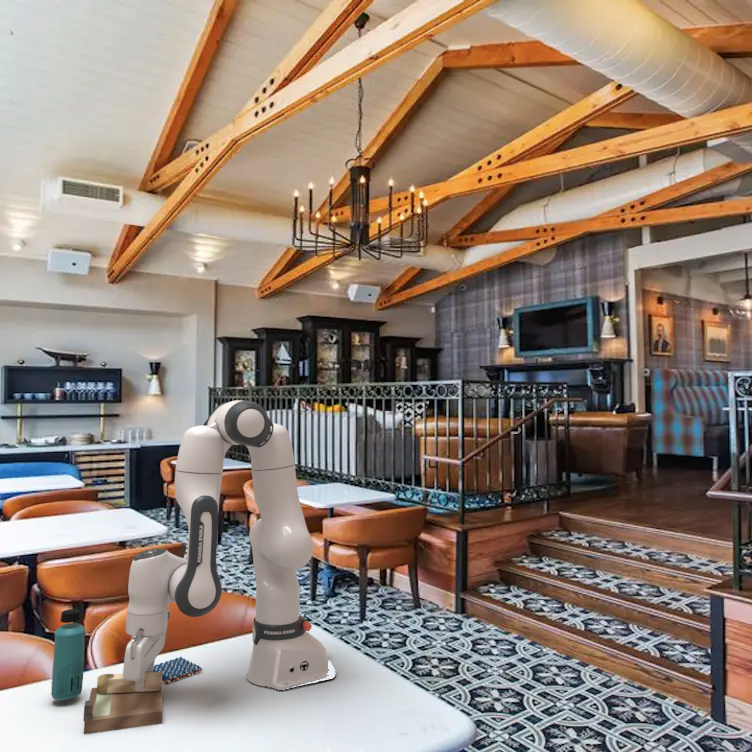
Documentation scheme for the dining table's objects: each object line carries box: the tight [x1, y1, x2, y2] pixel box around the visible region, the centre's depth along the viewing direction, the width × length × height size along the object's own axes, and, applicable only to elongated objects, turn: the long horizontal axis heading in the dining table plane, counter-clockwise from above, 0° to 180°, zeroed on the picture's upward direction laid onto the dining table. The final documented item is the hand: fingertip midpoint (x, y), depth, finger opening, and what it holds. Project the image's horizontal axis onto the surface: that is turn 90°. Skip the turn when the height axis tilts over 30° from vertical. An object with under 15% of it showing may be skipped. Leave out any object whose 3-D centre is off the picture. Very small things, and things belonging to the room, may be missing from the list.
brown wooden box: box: [83, 687, 163, 735], centre depth 135 cm, size 15×16×6 cm
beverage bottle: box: [50, 608, 86, 701], centre depth 140 cm, size 6×7×20 cm
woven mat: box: [152, 656, 203, 685], centre depth 156 cm, size 10×11×2 cm
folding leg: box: [96, 672, 163, 694], centre depth 139 cm, size 14×3×3 cm, turn 101°
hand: (143, 684), depth 139 cm, fingers open, 4 cm apart
